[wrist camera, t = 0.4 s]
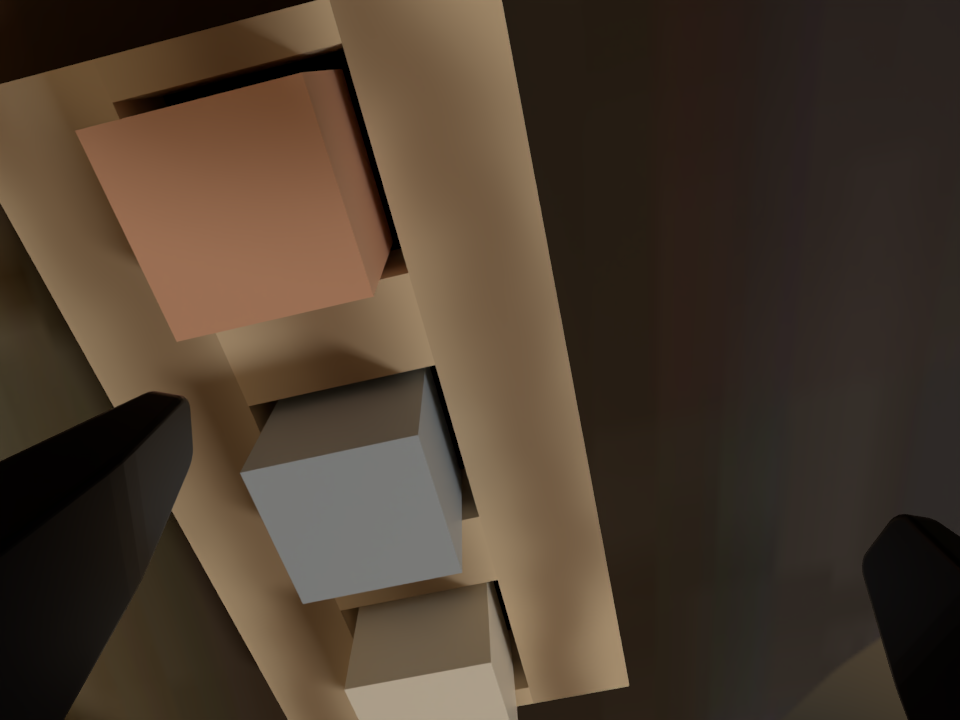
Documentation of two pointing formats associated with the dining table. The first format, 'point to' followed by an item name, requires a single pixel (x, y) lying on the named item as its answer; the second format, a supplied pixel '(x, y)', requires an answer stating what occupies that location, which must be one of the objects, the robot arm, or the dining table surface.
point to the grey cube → (360, 486)
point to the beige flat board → (351, 328)
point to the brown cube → (247, 202)
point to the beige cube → (433, 658)
